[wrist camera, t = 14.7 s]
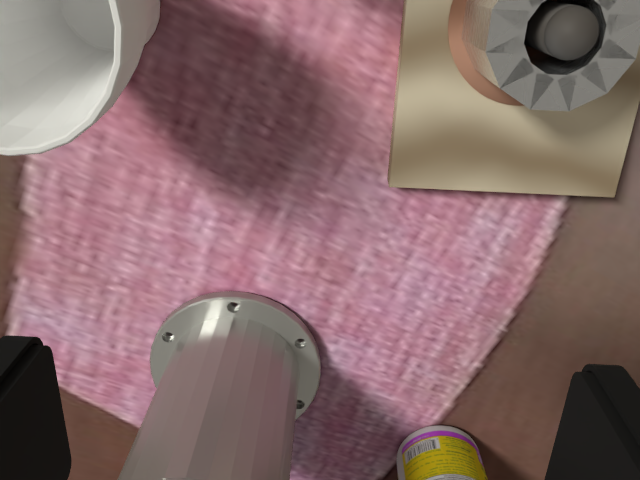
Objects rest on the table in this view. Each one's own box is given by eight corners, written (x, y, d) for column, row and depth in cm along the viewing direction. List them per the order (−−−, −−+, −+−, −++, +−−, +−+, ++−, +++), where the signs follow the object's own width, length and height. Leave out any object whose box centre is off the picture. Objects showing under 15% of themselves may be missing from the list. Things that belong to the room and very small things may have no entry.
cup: (233, 41, 35) (177, 82, 23) (91, 122, 38) (-29, 198, 25) (130, -143, 31) (-3, -213, 19) (-21, -41, 34) (-226, -45, 21)
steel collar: (577, 90, 34) (622, 113, 29) (455, 84, 34) (477, 107, 29) (606, -45, 31) (662, -47, 26) (473, -51, 31) (501, -54, 26)
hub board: (604, 189, 38) (673, 247, 31) (387, 179, 39) (400, 234, 31) (676, -95, 32) (788, -114, 24) (413, -106, 32) (438, -129, 24)
